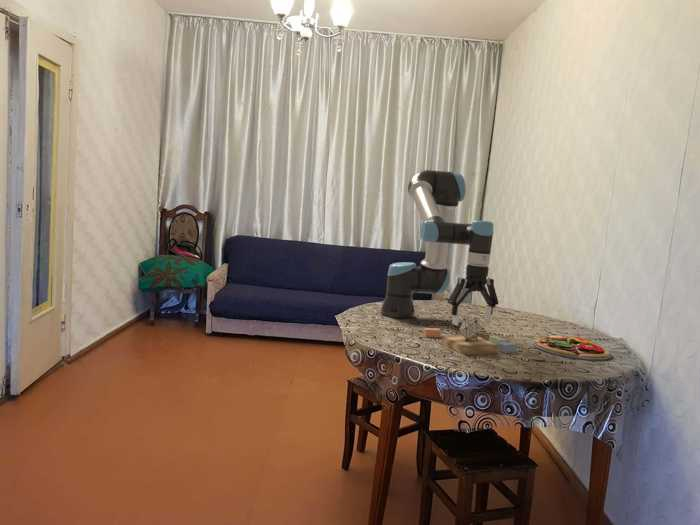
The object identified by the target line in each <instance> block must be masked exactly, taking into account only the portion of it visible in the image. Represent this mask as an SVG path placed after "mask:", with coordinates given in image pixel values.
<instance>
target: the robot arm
mask: <svg viewBox="0 0 700 525" xmlns="http://www.w3.org/2000/svg"><path fill="white" fill-rule="evenodd" d="M466 187H467V186H466V181H465V178H464V176H463V175H462V174H461V173H459V172H455V171H454V172H453V171H442V170H432V169H424V170H421V171H419V172H417V173H415V174H414V175H413V176H412V177H411V178H410V180H409V182H408V185H407V191H408V192H407V193H408V195H409V199H411V200H412V201H413V202H414V203H415V206H416V209H417V212H418V214H419V217H420V220H421V222H422V223H421V225H420V229H419V230H420V232H419V233H420V239H421V240H422V241H423V242H427V245H426V249H425V250H426V251H425V254H424V255H425V257H424V259H422V260H421V261H420V263H419V264H420V265H419V266H417V264H416V263H415V262H409V261H407V262H405V261H403V262H393V263H391V264H390V265H389V267H388V271H387V282H386V294H385V298H384V300H383V302H382V305H381V307H380V313H379V314H380V315H381V316H386V317H389V318H394V319H395V318H396V319H413V318H415V314H416V311H415V305H414V301H413V295H414V293H415V294H432V295H439V294H444V292H446V291H447V289H448V287H449V285H450V279H451V272H450V270H449V268H448V265H447V264H446V263H445V260H446V254H447V249H448V248H447V247H448V244H450V245H451V244H452V245H453V244H455V245H464V246H465V245H466V246H468V251H467V253H468V254H467V265H466V270H465V274H466V277H465V278H462V277H458V279H457V283H456V285H455V287H454V289H453V291H452V292H451V294H450V297H449V298H448V300H447V304H449V305H451V306H452V307H451V315H452V319H451V320H452V321H451V325H455V326H459V324H460V323H459V321H460V313H461V306H460V304H461V303H462V302H463V301H464V300H465V299H466V297H467V296H468V295H469V294H470V293H471V292H480V294H481V295H482V298H483V299H484V301H485V303H486V304H485V306H484V316H483V322H482V323H483V324H485V325H487V326H488V325H489V326H490V324H491V316H492V315H493V312H494V311H493V310H494V308H496V306H498V305H499V300H498V296H497V292H496V288H495V286H494V284H495V280H494V279H493V278H490V277H488V276H489V269H490V268H489V265H490V259H491V251H492V242H493V236H494V223H493V222H492V221H488V220H479V219H478V220H477V219H476V220H475V219H474V220H472V222H471V223H459V222H452V220H453V216H454V210H455V209H456V208H458V206H459V202H463V201H464V198H465V197H466V190H467V189H466ZM487 277H488V278H487Z"/></svg>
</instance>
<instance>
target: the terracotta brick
mask: <svg viewBox="0 0 700 525" xmlns="http://www.w3.org/2000/svg"><path fill="white" fill-rule="evenodd" d="M441 334H442V329H441V328H439V327H423V328H422V336H423V335H424V337H425V338H441V337H442V335H441Z"/></svg>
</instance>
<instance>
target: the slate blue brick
mask: <svg viewBox="0 0 700 525" xmlns="http://www.w3.org/2000/svg"><path fill="white" fill-rule="evenodd" d="M517 348H518V344H517V343H514V342H511V341H509V342H508V341H506V342H505V343H499V344H498V350H497V352H500V353H503V354H504V353H505V354H507V353H517Z"/></svg>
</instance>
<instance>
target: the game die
mask: <svg viewBox="0 0 700 525" xmlns="http://www.w3.org/2000/svg"><path fill="white" fill-rule="evenodd" d="M476 318H477V317H476V316H475V317H474V318H471V319H470V318H465V317H462V319H463V321H462V323H461V325H460V327H459V329H456V331H459V332H460V333H461V335H463V336H464V338H466V341H467V339H477V338H478V337H480V334H481V333H482V331H483V330H485V329H486V328H485V327H482V325H481V324H480V323H479V322H478V320H477V319H476ZM477 341H478V339H477Z"/></svg>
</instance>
